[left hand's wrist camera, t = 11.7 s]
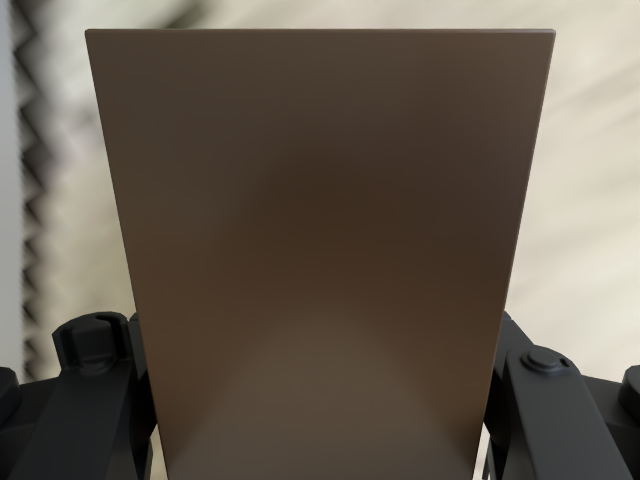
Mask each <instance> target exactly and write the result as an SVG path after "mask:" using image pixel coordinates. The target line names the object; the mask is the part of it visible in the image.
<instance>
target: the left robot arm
mask: <svg viewBox="0 0 640 480" xmlns="http://www.w3.org/2000/svg"><path fill="white" fill-rule="evenodd" d="M52 337H53V341H54V345H55V348H56V352H57V355H58V359H59V362H60V366H61V372H60V374H59V376H58V377H55V378H51V379H46V380H41V381H36V382H31V383H26V384H21V385H19V382H18V379H17V376H16V373H15V372H14V371H13V370H11V369H10V368H7V367H0V480H150V474H151V466H152V458H153V450H152V444H151V438H150V436H151V434H152V432H153V430H154V428H155V426H156V424H157V419H156V413H155V408H154V403H153V397H152V392H151V386H150V381H149V376H148V370H147V365H146V360H145V354H144V349H143V344H142V338H141V333H140V328H139V322H138V317H137V313H134V314H133V316H132V317H131V318H130V319H129V321H127V318H126V317H125V316H124V315H122V314H121V313H116V312H111V311H110V312H96V313H91V314H86V315H83V316H80V317H77V318H75V319H72V320H70V321H68V322H66V323H65V324H63V325H61V326H60V327H58V328H57V329H56V330H55V331H54V332H53V333H52ZM483 422H484V424H485V426H486V428H487V430H488V432H489V434H490V438H489V444H488V449H487V454H486V459H485V464H484V469H483V475H482V480H488V475H489V473H490V480H640V365H636V366H631V367H630V368H628V369H627V370H626V371H625V374H624V377H623V380H622V383H618V382H613V381H608V380H603V379H598V378H593V377H588V376H584V375H581V374H580V372H579V370H578V368H577V367H576V366H575V365H574V363H573V362H572V361H571V360H569V359H568V358H566V357H565V356H564V355H562V354H560V353H558V352H556V351H554V350H551V349H549V348H546V347H542V346H538V345H534V344H533V343H532V342H531V340H530V339H529V338H528V337H527V336H526V335H525V333H524V332H523V331H522V330H521V329H520V328H519V326H518V325H517V324H516V323H515V322H514V321H513V320H511V317H510V316H509V315H508V314H507V312H506V311H504V314H503V319H502V324H501V330H500V335H499V340H498V346H497V351H496V356H495V362H494V367H493V372H492V378H491V383H490V389H489V394H488V399H487V405H486V410H485V415H484V421H483Z"/></svg>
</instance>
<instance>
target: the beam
mask: <svg viewBox="0 0 640 480" xmlns="http://www.w3.org/2000/svg"><path fill="white" fill-rule="evenodd" d="M555 36H556V31H555V30H553V29H88V30H85V39H86V44H87V49H88V55H89V60H90V65H91V71H92V76H93V81H94V87H95V92H96V98H97V103H98V108H99V114H100V119H101V124H102V130H103V135H104V140H105V146H106V151H107V156H108V162H109V167H110V172H111V178H112V183H113V189H114V194H115V199H116V205H117V210H118V215H119V221H120V226H121V231H122V237H123V242H124V247H125V253H126V258H127V263H128V269H129V274H130V279H131V285H132V290H133V296H134V301H135V306H136V312H137V317H138V322H139V328H140V333H141V338H142V344H143V349H144V354H145V360H146V365H147V370H148V376H149V381H150V386H151V392H152V397H153V403H154V408H155V413H156V419H157V424H158V429H159V435H160V440H161V445H162V451H163V456H164V461H165V467H166V472H167V477H168V480H472V479H473V474H474V469H475V463H476V458H477V453H478V447H479V442H480V437H481V431H482V426H483V421H484V415H485V410H486V405H487V399H488V394H489V389H490V383H491V378H492V372H493V367H494V362H495V356H496V351H497V346H498V340H499V335H500V330H501V324H502V319H503V314H504V308H505V303H506V298H507V292H508V287H509V282H510V276H511V271H512V266H513V260H514V255H515V250H516V244H517V239H518V234H519V228H520V223H521V218H522V212H523V207H524V202H525V196H526V191H527V186H528V180H529V175H530V170H531V164H532V159H533V154H534V148H535V143H536V138H537V132H538V127H539V122H540V116H541V111H542V106H543V100H544V95H545V89H546V84H547V79H548V73H549V68H550V63H551V57H552V52H553V47H554V41H555Z"/></svg>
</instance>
